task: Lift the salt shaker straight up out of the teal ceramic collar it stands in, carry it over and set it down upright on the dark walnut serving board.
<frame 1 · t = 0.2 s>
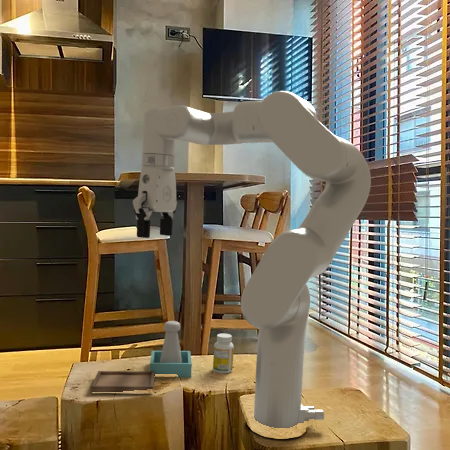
hand: (154, 236, 114), 37 cm above the table, tool pointing down, fingers open, 9 cm apart
collar: (170, 370, 129), on the table
salt shaker: (170, 370, 129), resting in collar
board: (124, 385, 117), on the table
supplement bottle: (222, 371, 131), on the table
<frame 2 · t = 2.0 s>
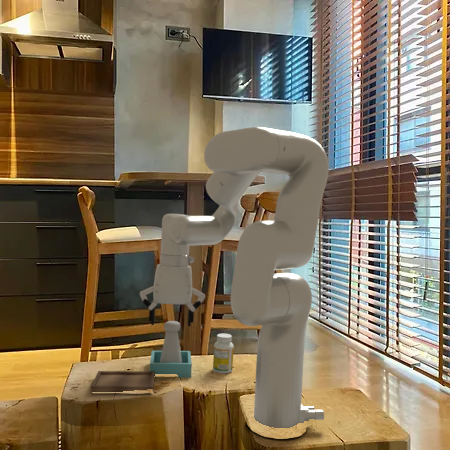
hand: (171, 324, 129), 12 cm above the table, tool pointing down, fingers open, 9 cm apart
nothing on the table moved.
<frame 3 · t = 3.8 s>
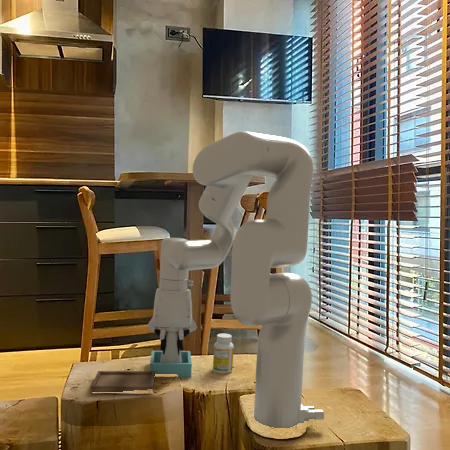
hand: (171, 352, 129), 5 cm above the table, tool pointing down, fingers closed on salt shaker, 3 cm apart
salt shaker: (170, 370, 129), resting in collar, touching gripper
everything else where it was.
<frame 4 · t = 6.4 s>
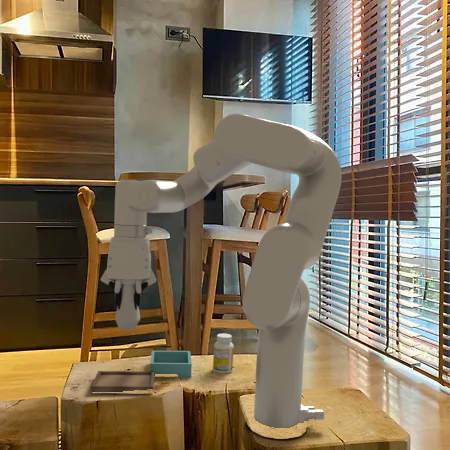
hand: (127, 308, 116), 19 cm above the table, tool pointing down, fingers closed on salt shaker, 3 cm apart
salt shaker: (127, 328, 117), point 14 cm above the table, touching gripper
everything else where it was.
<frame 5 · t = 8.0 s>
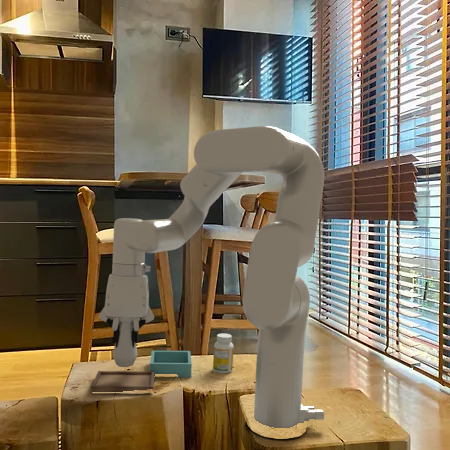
hand: (125, 345, 117), 10 cm above the table, tool pointing down, fingers closed on salt shaker, 3 cm apart
salt shaker: (124, 365, 117), point 5 cm above the table, touching gripper
everything else where it was.
when the fingers open (7 cm above the table, at t = 9.3 s): salt shaker stays where it is, resting on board.
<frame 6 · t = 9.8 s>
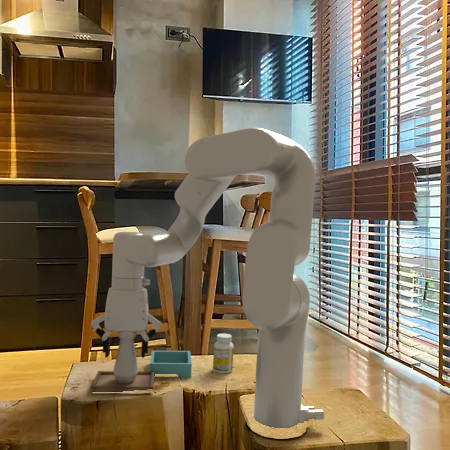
hand: (125, 355, 117), 7 cm above the table, tool pointing down, fingers open, 8 cm apart
salt shaker: (125, 381, 117), point 1 cm above the table, touching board
everything else where it was.
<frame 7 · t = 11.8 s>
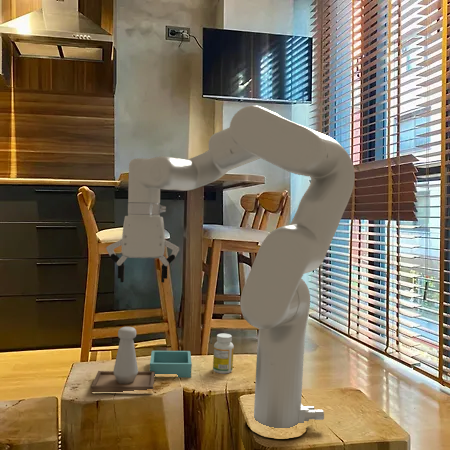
hand: (142, 281, 117), 25 cm above the table, tool pointing down, fingers open, 9 cm apart
nothing on the table moved.
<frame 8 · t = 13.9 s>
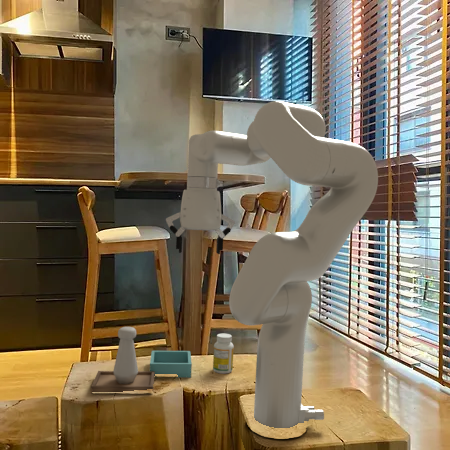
hand: (199, 252, 122), 32 cm above the table, tool pointing down, fingers open, 9 cm apart
nothing on the table moved.
at the end: salt shaker inside the target area on the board (0.2 cm from its centre), point 1.0 cm above the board's base; salt shaker tilted 0°; the gripper is holding nothing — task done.
